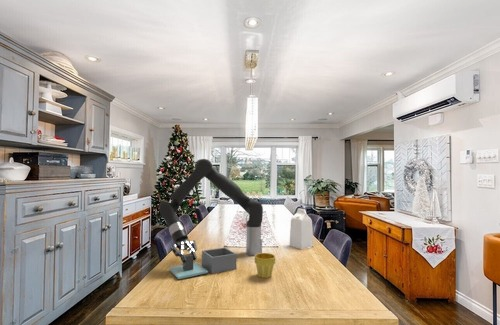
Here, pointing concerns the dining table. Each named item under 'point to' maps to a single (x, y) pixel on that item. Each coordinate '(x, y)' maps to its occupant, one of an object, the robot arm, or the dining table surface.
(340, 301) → the dining table surface
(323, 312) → the dining table surface
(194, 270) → the lid
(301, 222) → the milk
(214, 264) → the tub
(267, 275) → the plant pot
